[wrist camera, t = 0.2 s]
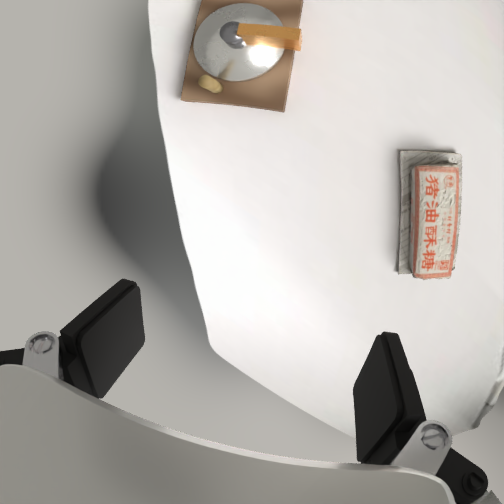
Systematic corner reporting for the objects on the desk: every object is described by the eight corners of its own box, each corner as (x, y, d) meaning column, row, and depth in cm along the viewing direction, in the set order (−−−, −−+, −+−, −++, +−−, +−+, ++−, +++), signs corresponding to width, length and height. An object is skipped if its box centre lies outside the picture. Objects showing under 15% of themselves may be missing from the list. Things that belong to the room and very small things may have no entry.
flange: (189, 79, 33) (173, 72, 28) (205, 6, 28) (192, -8, 24) (294, 89, 31) (292, 81, 27) (307, 12, 27) (306, -5, 22)
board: (208, -3, 29) (191, -22, 23) (303, 2, 28) (300, -22, 21) (186, 101, 36) (163, 95, 30) (284, 112, 35) (278, 105, 28)
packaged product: (463, 281, 33) (404, 286, 36) (450, 268, 38) (396, 271, 40) (473, 154, 27) (408, 151, 29) (457, 152, 32) (397, 149, 34)
